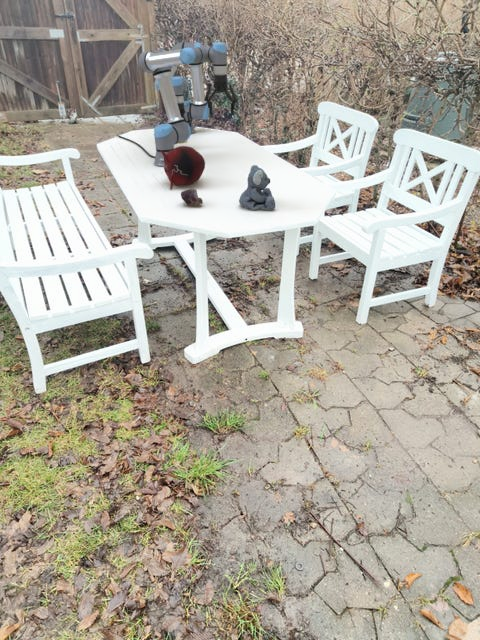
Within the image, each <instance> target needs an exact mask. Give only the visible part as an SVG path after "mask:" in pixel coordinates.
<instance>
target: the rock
mask: <svg viewBox="0 0 480 640" xmlns="http://www.w3.org/2000/svg"><path fill="white" fill-rule="evenodd" d="M180 197H181V200H182V201H183V202H184V203H185V205H187V206H189V207H191V206H192V207H193V206H201V205H203V204H204V202H203V199H202V197H199V195H198V190H197V189H196V188H188V189H185V190H181V192H180Z"/></svg>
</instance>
